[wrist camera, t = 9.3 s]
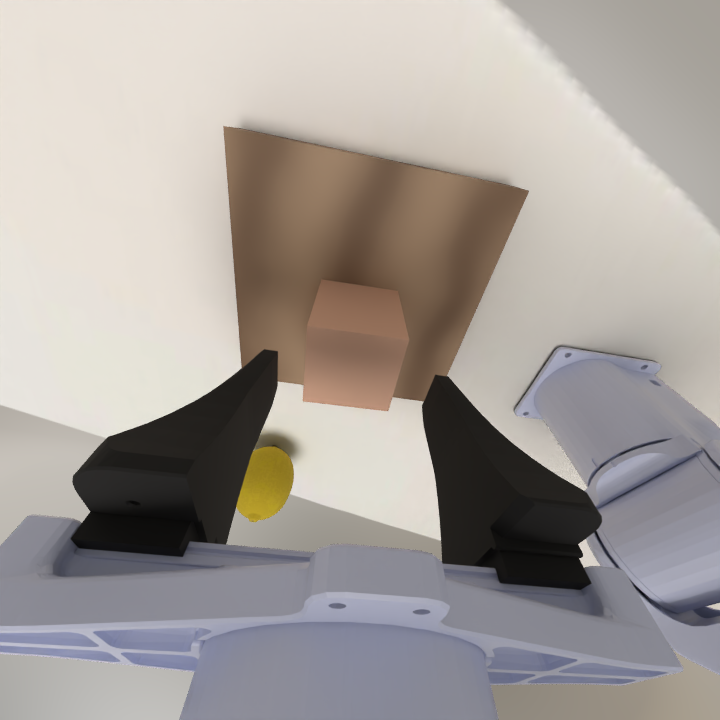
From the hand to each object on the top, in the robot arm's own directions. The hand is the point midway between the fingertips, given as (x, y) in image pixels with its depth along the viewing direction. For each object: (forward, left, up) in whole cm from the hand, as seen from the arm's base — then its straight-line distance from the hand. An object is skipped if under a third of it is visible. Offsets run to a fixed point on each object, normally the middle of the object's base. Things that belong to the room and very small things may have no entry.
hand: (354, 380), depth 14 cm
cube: (0, +1, -8) cm, 8 cm away
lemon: (+6, +20, -11) cm, 23 cm away
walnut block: (0, 0, -10) cm, 10 cm away
